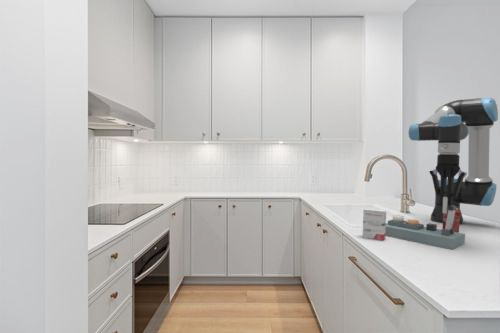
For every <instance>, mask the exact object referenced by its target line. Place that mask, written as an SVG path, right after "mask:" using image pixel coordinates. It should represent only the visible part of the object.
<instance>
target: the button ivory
mask: <svg viewBox="0 0 500 333" xmlns="http://www.w3.org/2000/svg"><path fill="white" fill-rule="evenodd" d="M404 218H405V216H404V215H401V214H400V215H398V214H396V215H395V214H394V215H392V220H393V222H399V223H403V222H404V221H405V220H404Z"/></svg>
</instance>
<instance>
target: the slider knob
mask: <svg viewBox="0 0 500 333" xmlns="http://www.w3.org/2000/svg"><path fill="white" fill-rule="evenodd" d="M425 227H426V230H430V231H436V230H437V229H438V224H436V223H426V226H425Z"/></svg>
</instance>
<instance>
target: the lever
mask: <svg viewBox="0 0 500 333" xmlns="http://www.w3.org/2000/svg"><path fill="white" fill-rule="evenodd" d="M456 209H457V206H455V205H450V206H449V207H448V210H449V211H448V216H447V221H446V226H445V230H449V233H451V232H452V230H451V229H452V225H453V220H454V215H455V210H456Z"/></svg>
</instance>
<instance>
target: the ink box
mask: <svg viewBox="0 0 500 333" xmlns="http://www.w3.org/2000/svg"><path fill="white" fill-rule="evenodd" d="M362 218H363V219H362V238H365V239H370V240H378V241H384V240H385V239H386V236H385V232H386V223H387V210H380V209H372V208H365V209H363V216H362Z"/></svg>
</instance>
